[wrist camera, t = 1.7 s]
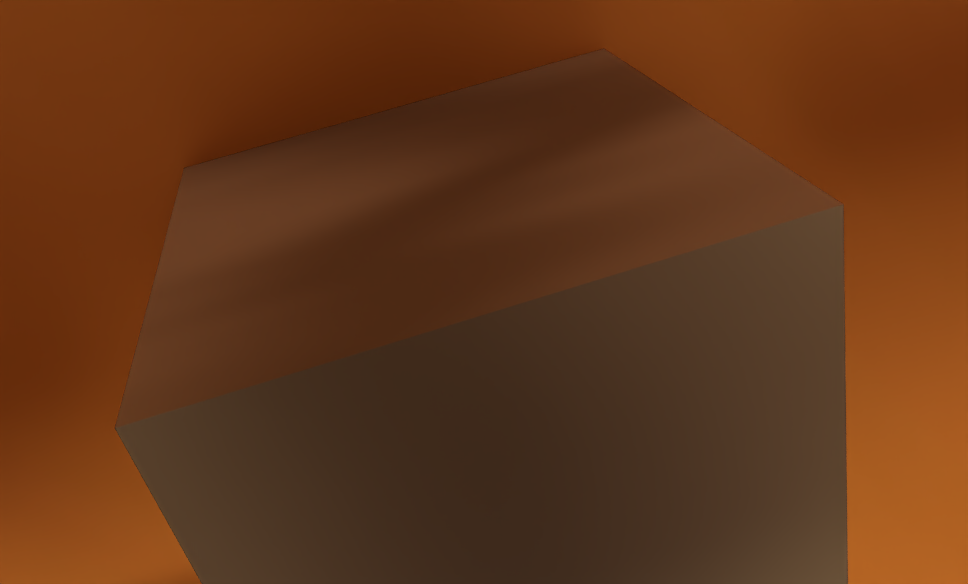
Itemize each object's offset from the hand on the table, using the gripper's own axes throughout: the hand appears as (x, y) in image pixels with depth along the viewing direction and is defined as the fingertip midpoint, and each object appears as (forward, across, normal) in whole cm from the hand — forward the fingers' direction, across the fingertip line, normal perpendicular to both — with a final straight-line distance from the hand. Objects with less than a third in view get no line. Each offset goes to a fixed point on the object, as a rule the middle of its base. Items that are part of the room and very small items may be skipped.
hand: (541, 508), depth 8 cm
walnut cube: (+4, 0, 0) cm, 4 cm away
